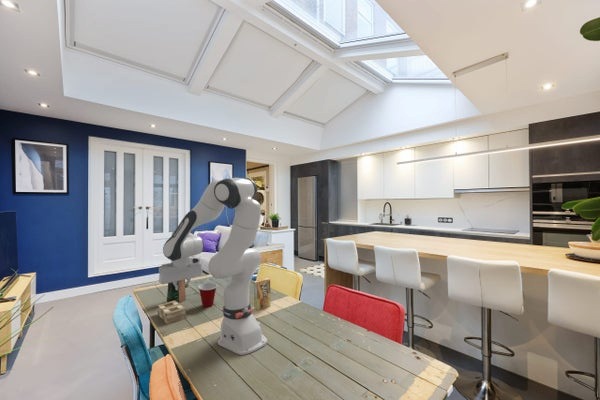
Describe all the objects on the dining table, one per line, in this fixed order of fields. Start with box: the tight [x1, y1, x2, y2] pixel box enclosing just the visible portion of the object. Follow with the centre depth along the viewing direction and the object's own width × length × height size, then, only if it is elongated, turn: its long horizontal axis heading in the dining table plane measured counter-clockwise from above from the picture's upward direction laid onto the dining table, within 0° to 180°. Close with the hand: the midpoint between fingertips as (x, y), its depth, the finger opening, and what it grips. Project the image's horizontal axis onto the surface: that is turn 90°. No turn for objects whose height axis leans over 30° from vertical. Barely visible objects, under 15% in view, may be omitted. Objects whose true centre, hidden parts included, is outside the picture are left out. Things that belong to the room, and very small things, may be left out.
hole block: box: [157, 301, 187, 325], centre depth 137 cm, size 16×9×5 cm, turn 45°
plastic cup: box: [197, 282, 218, 308], centre depth 150 cm, size 11×11×12 cm
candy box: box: [253, 278, 271, 311], centre depth 147 cm, size 9×4×15 cm, turn 129°
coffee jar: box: [166, 281, 180, 303], centre depth 157 cm, size 10×8×19 cm
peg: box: [178, 279, 187, 303], centre depth 128 cm, size 3×3×12 cm
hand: (182, 288), depth 128 cm, fingers closed on peg, 3 cm apart
